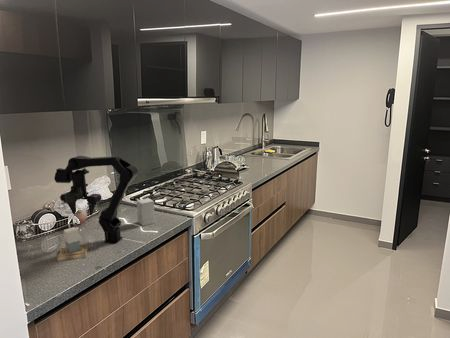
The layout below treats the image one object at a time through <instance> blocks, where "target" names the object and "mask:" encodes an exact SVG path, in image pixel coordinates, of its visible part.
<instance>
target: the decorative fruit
mask: <svg viewBox="0 0 450 338" xmlns="http://www.w3.org/2000/svg"><path fill="white" fill-rule="evenodd" d="M74 216H76V217H77V218H78V219H79V221H80V225H81V224H83V223H84V222H85V221H86V220H87V217H88V213H87V212H86V210H85V209H83V210H78V211H77V212H76V213H75V214H74Z"/></svg>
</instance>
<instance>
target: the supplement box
mask: <svg viewBox="0 0 450 338" xmlns="http://www.w3.org/2000/svg"><path fill="white" fill-rule="evenodd" d="M136 210H137V222H138V223H139V225H141V226H142V227H144V226H149V225H152V224H156V216H155V201H154V200H152V199H151V198H149V197H147V198H141V199H138V200H136Z"/></svg>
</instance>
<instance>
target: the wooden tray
mask: <svg viewBox="0 0 450 338" xmlns="http://www.w3.org/2000/svg"><path fill="white" fill-rule="evenodd" d="M60 248H61V249H60V252H59V253H58V255H57V261H58V262H59V261H68V260H75V259H81V258H83V259H84V258H86V257H87V253H88V249H89V243H82V244H81V243H80V250H81V251H79V252H74V253H68V252H67V251H66V245H65V246H61V247H60Z"/></svg>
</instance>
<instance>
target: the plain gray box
mask: <svg viewBox="0 0 450 338" xmlns="http://www.w3.org/2000/svg"><path fill="white" fill-rule="evenodd" d="M63 236H64V242H65V244H64V245H65V246H66V251H67V252H68V253H74V252H79V251H81V250H80V244H81V243H80V234H79V229H78V228H77V227H75V226H74V227H73V226H72V227H70V228H66V229H63Z"/></svg>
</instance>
